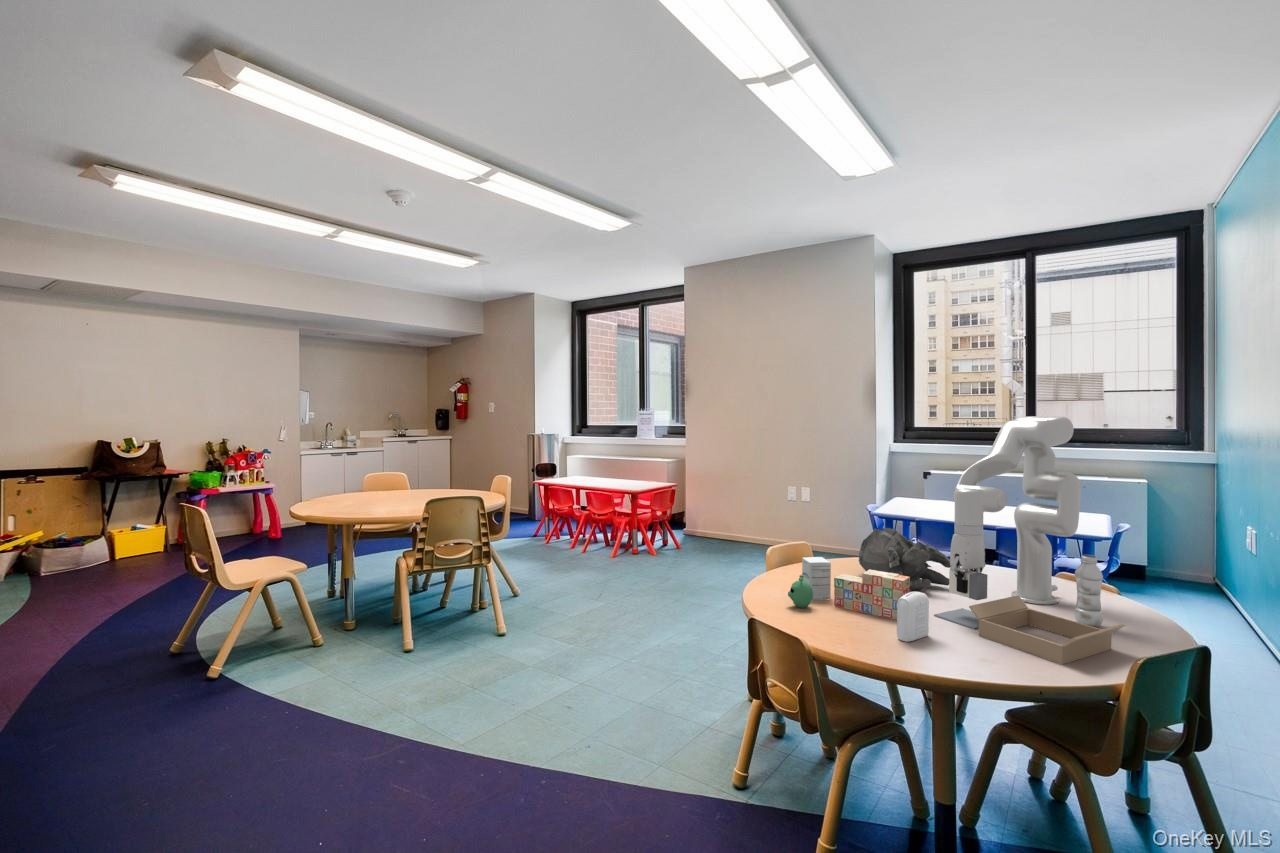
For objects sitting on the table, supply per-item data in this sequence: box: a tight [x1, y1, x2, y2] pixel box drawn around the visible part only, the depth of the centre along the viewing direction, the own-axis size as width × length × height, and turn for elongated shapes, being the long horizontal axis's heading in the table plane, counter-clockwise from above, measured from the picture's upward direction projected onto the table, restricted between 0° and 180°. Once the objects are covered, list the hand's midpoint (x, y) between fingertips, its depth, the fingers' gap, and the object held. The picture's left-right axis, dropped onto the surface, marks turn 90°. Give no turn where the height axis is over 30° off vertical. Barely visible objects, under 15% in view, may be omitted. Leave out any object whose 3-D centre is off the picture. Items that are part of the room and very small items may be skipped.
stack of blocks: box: [833, 570, 911, 621], centre depth 189 cm, size 21×6×12 cm, turn 48°
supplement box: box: [801, 556, 832, 601], centre depth 203 cm, size 7×7×13 cm
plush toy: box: [858, 527, 951, 592], centre depth 220 cm, size 27×26×20 cm
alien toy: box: [787, 574, 813, 609], centre depth 192 cm, size 7×8×10 cm
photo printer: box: [896, 591, 930, 643], centre depth 166 cm, size 10×4×12 cm, turn 123°
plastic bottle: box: [1073, 554, 1104, 628], centre depth 175 cm, size 6×7×20 cm
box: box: [948, 568, 988, 601], centre depth 181 cm, size 4×9×7 cm, turn 26°
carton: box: [968, 595, 1126, 665], centre depth 162 cm, size 22×28×8 cm
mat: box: [933, 608, 979, 630], centre depth 181 cm, size 13×13×1 cm
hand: (967, 590), depth 181 cm, fingers closed on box, 4 cm apart
